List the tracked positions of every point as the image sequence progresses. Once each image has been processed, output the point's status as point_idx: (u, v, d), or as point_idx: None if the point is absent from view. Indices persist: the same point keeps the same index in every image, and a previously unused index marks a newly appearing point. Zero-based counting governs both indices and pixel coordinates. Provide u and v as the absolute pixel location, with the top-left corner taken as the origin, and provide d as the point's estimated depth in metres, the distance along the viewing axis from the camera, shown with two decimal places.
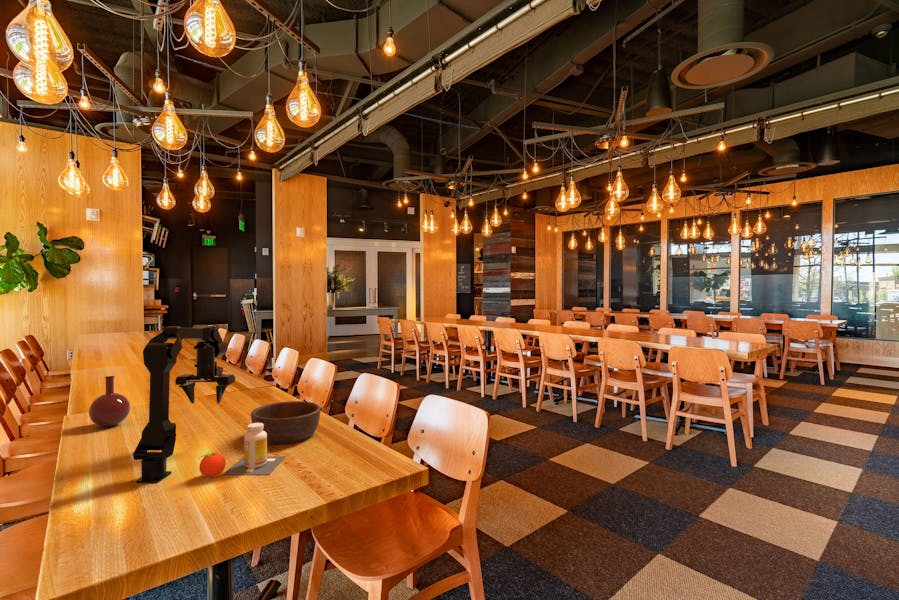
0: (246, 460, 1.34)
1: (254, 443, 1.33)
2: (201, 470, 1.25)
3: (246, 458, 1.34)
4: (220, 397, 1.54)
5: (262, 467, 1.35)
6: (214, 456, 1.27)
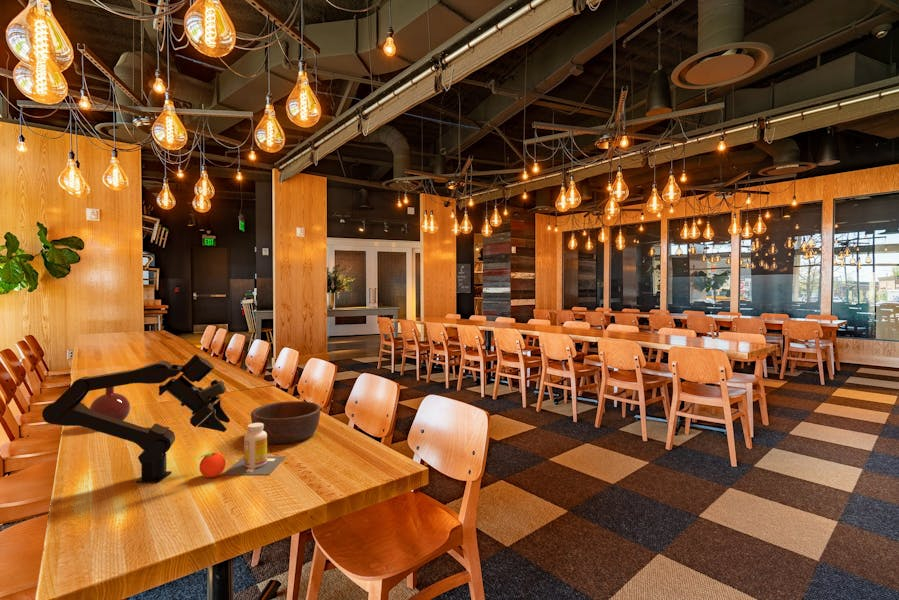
0: (246, 460, 1.34)
1: (254, 443, 1.33)
2: (201, 470, 1.25)
3: (246, 458, 1.34)
4: (218, 427, 1.28)
5: (262, 467, 1.35)
6: (214, 456, 1.27)
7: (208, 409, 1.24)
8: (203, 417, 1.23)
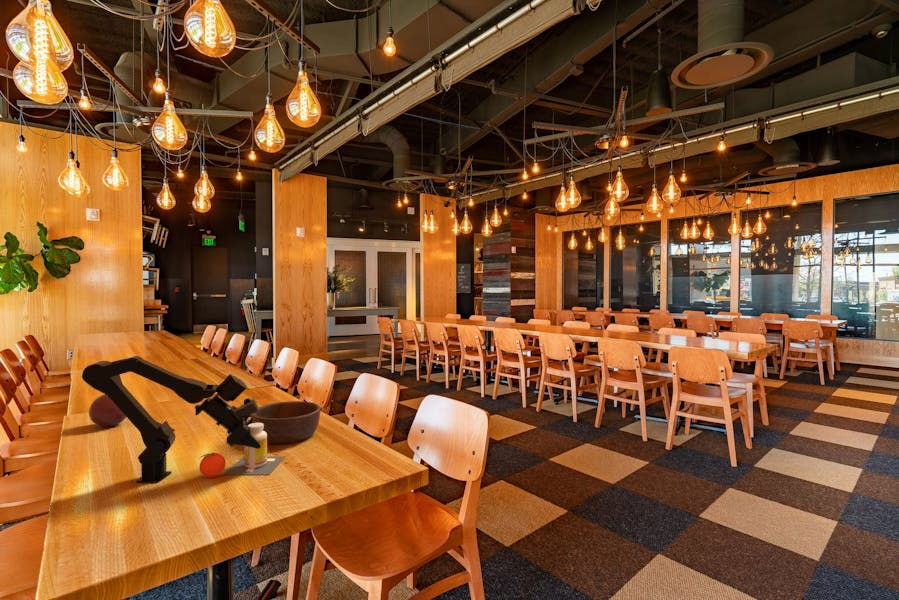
0: (246, 460, 1.34)
1: None
2: (201, 470, 1.25)
3: (246, 458, 1.34)
4: (253, 444, 1.32)
5: (262, 467, 1.35)
6: (214, 456, 1.27)
7: (243, 429, 1.27)
8: (239, 436, 1.26)
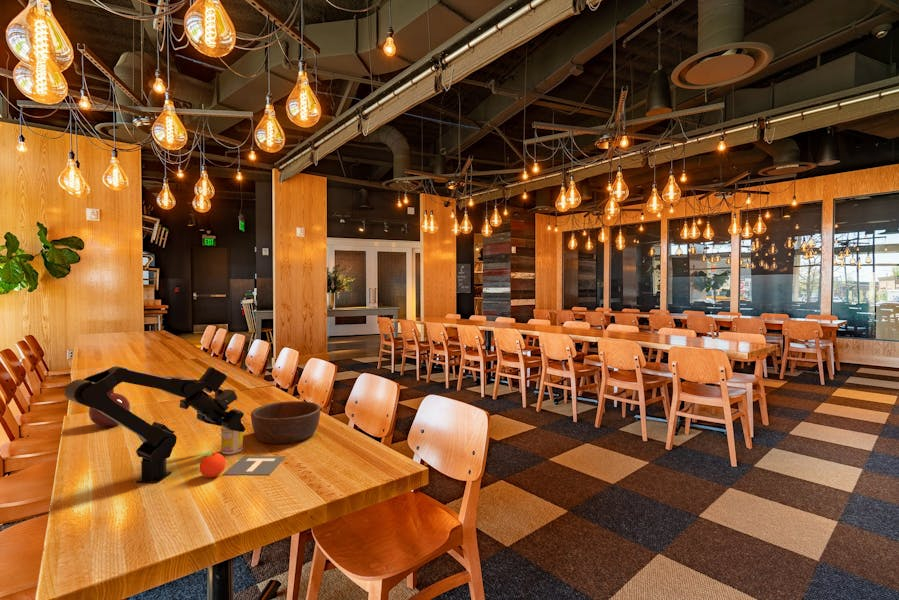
0: (229, 447, 1.45)
1: None
2: (201, 470, 1.25)
3: (229, 445, 1.45)
4: (240, 428, 1.45)
5: (262, 467, 1.35)
6: (214, 456, 1.27)
7: (241, 412, 1.41)
8: (238, 420, 1.40)
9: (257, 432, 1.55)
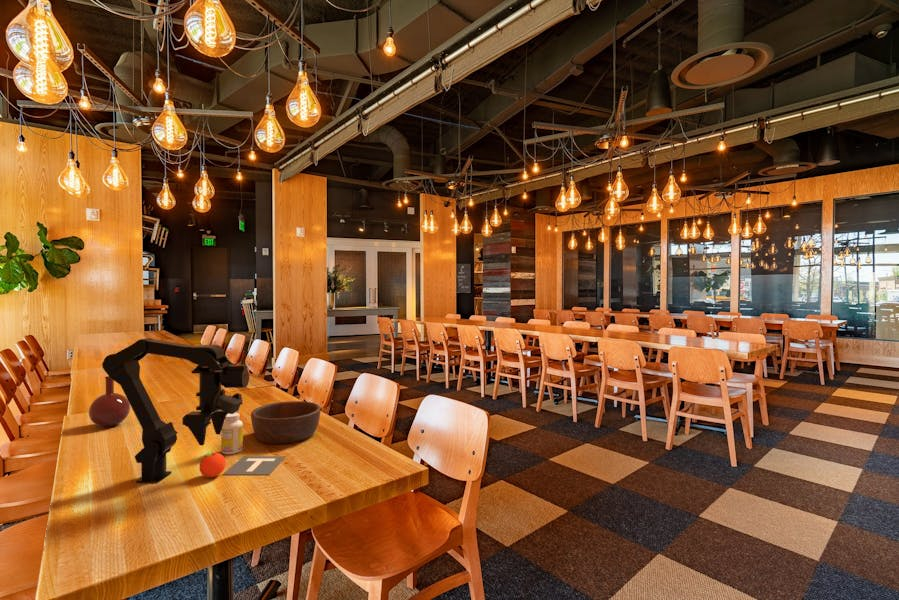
0: (229, 447, 1.45)
1: (237, 429, 1.46)
2: (201, 470, 1.25)
3: (229, 445, 1.45)
4: (198, 438, 1.22)
5: (262, 467, 1.35)
6: (214, 456, 1.27)
7: (203, 420, 1.19)
8: (194, 423, 1.18)
9: (257, 432, 1.55)
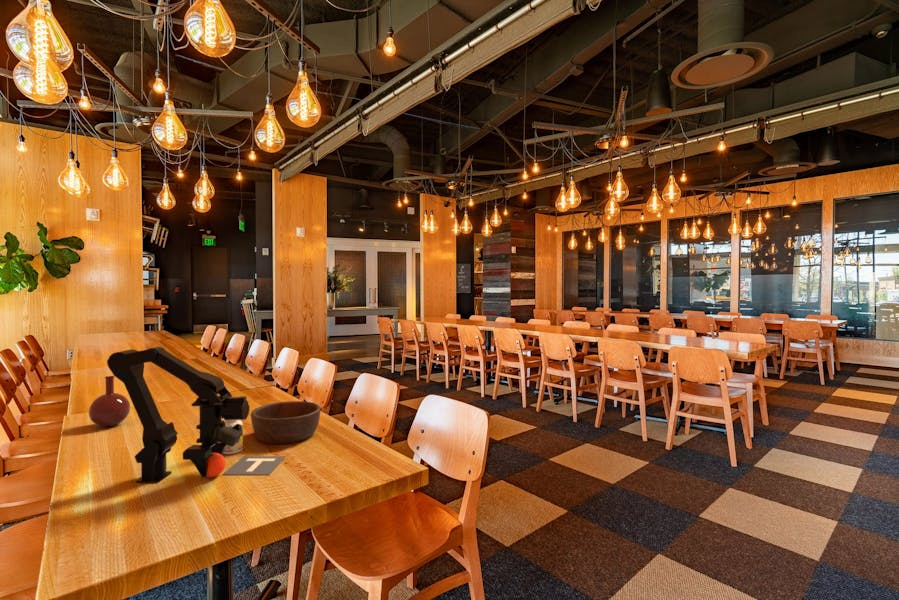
0: (229, 447, 1.45)
1: None
2: None
3: None
4: (201, 470, 1.24)
5: (262, 467, 1.35)
6: (214, 456, 1.27)
7: (203, 455, 1.19)
8: (194, 458, 1.19)
9: (257, 432, 1.55)
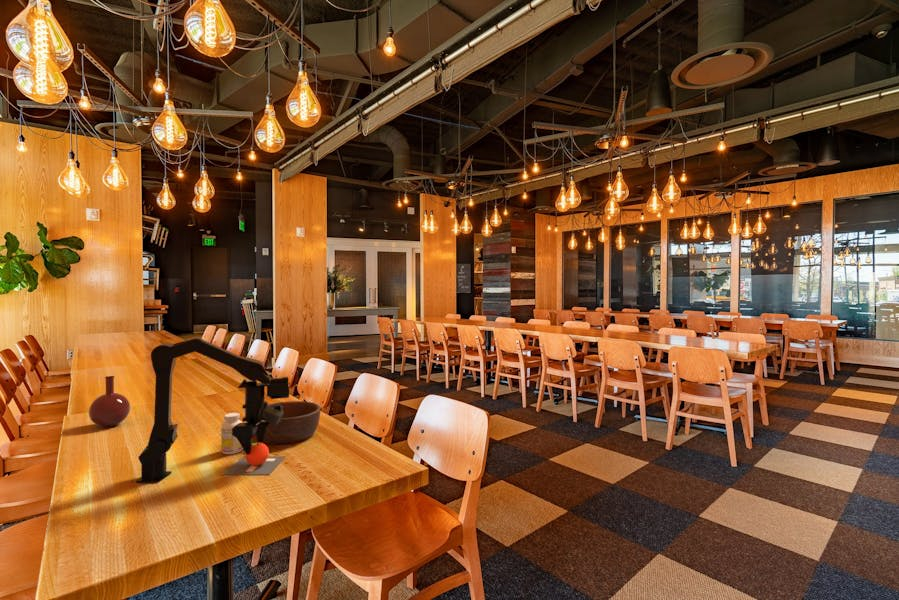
0: (229, 447, 1.45)
1: None
2: (248, 458, 1.33)
3: (229, 445, 1.45)
4: (245, 447, 1.32)
5: (262, 467, 1.35)
6: (259, 445, 1.35)
7: (251, 431, 1.28)
8: (242, 434, 1.28)
9: None
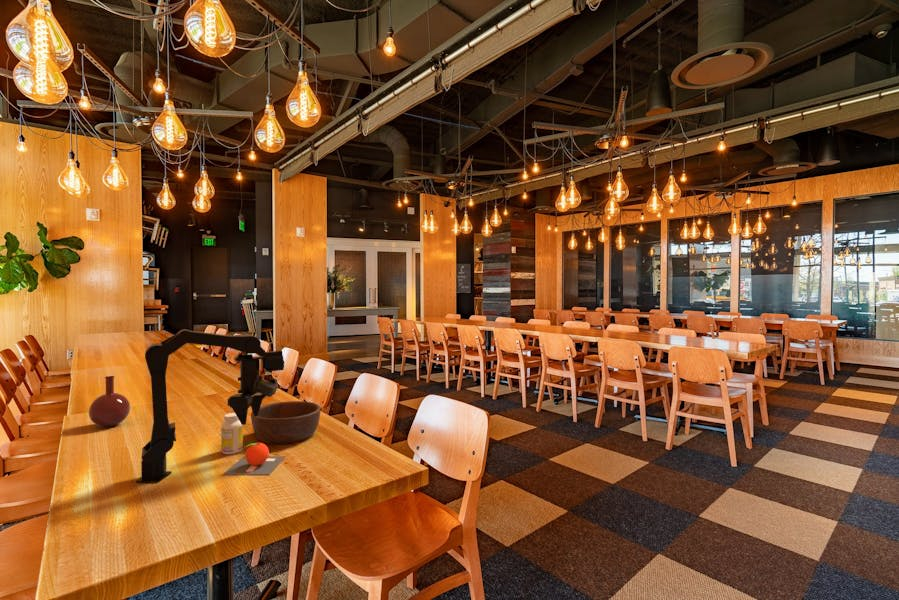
0: (229, 447, 1.45)
1: (237, 429, 1.46)
2: (248, 458, 1.33)
3: (229, 445, 1.45)
4: (241, 418, 1.36)
5: (262, 467, 1.35)
6: (259, 445, 1.35)
7: (246, 402, 1.32)
8: (238, 404, 1.32)
9: (257, 432, 1.55)
